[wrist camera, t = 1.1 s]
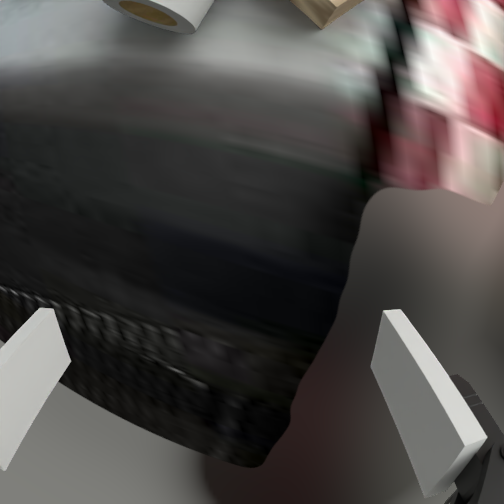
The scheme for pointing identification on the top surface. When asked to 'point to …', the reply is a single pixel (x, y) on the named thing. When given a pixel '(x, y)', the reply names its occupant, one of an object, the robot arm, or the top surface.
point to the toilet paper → (165, 12)
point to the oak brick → (324, 9)
